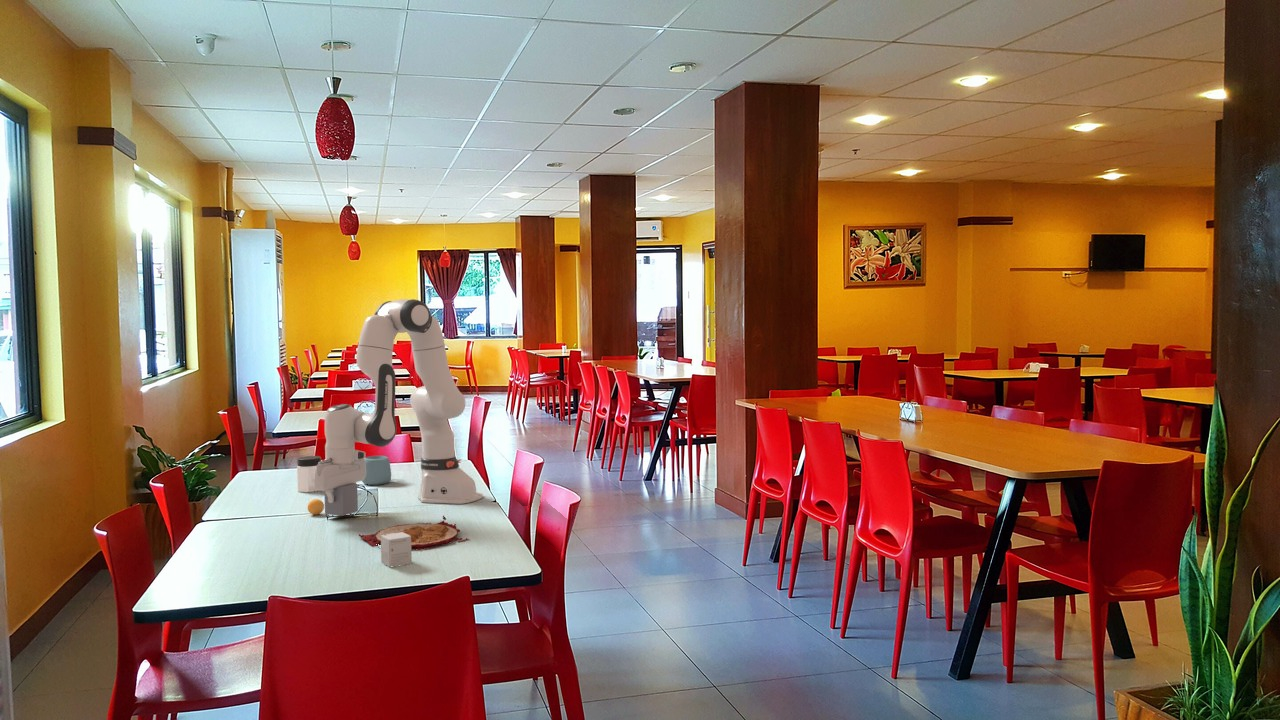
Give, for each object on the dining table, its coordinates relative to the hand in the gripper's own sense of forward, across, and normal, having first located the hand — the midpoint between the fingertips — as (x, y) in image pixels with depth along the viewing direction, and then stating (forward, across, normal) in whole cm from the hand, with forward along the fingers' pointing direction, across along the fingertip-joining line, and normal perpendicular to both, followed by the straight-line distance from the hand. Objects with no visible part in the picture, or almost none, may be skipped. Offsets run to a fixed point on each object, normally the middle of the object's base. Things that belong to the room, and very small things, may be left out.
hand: (341, 499), depth 280 cm
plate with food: (+7, -14, -39) cm, 42 cm away
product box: (+6, -36, -48) cm, 61 cm away
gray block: (+4, 0, 0) cm, 4 cm away
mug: (+6, +52, +26) cm, 58 cm away
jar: (+6, +31, +40) cm, 51 cm away
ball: (+3, 0, +10) cm, 11 cm away
